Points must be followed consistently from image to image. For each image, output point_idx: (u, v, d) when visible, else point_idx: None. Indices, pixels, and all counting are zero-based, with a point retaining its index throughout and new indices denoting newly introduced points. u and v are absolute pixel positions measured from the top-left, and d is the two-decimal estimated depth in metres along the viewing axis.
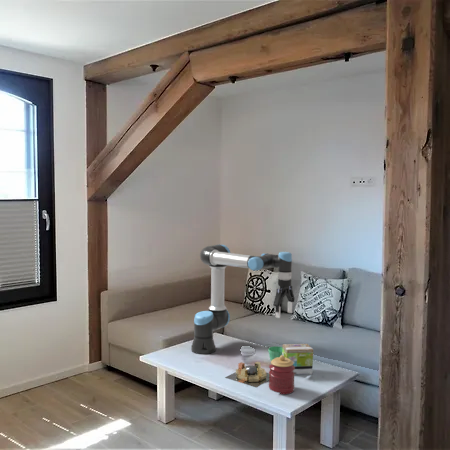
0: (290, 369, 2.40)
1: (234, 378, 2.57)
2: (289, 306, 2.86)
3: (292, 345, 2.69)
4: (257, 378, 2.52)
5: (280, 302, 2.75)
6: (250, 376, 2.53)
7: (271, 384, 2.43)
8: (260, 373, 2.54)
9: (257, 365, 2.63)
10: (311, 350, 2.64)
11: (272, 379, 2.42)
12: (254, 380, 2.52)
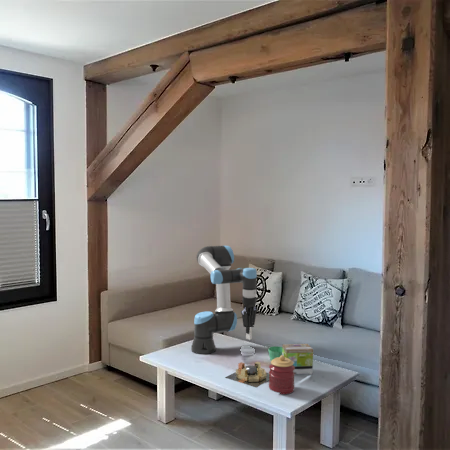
0: (290, 369, 2.40)
1: (234, 378, 2.57)
2: None
3: (292, 345, 2.69)
4: (257, 378, 2.52)
5: (249, 322, 2.65)
6: (250, 376, 2.53)
7: (271, 384, 2.43)
8: (260, 373, 2.54)
9: (257, 365, 2.63)
10: (311, 350, 2.64)
11: (272, 379, 2.42)
12: (254, 380, 2.52)
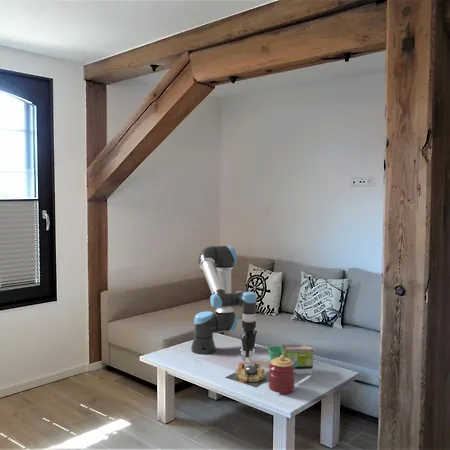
0: (290, 369, 2.40)
1: (234, 378, 2.57)
2: None
3: (292, 345, 2.69)
4: (257, 378, 2.52)
5: (249, 346, 2.66)
6: (250, 376, 2.53)
7: (271, 384, 2.43)
8: (260, 373, 2.54)
9: (257, 365, 2.63)
10: (311, 350, 2.64)
11: (272, 379, 2.42)
12: (254, 380, 2.52)
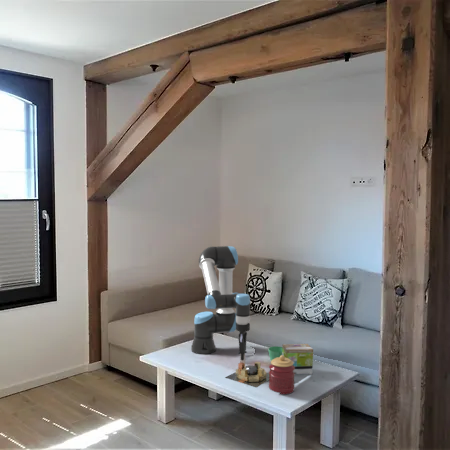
0: (290, 369, 2.40)
1: (234, 378, 2.57)
2: None
3: (292, 345, 2.69)
4: (257, 378, 2.52)
5: (244, 349, 2.62)
6: (250, 376, 2.53)
7: (271, 384, 2.43)
8: (260, 373, 2.54)
9: (257, 365, 2.63)
10: (311, 350, 2.64)
11: (272, 379, 2.42)
12: (254, 380, 2.52)
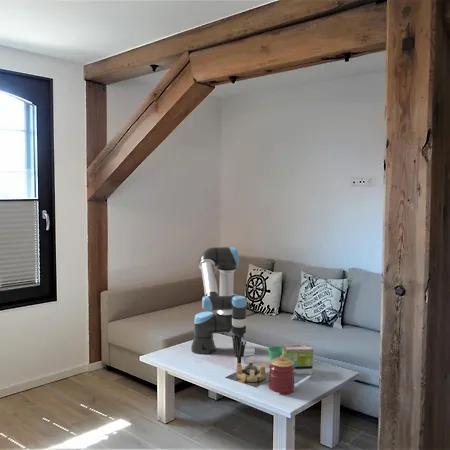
0: (290, 369, 2.40)
1: (234, 378, 2.57)
2: None
3: (292, 345, 2.69)
4: (264, 375, 2.55)
5: None
6: (258, 375, 2.54)
7: (271, 384, 2.43)
8: (263, 370, 2.58)
9: (251, 364, 2.64)
10: (311, 350, 2.64)
11: (272, 379, 2.42)
12: (262, 378, 2.54)
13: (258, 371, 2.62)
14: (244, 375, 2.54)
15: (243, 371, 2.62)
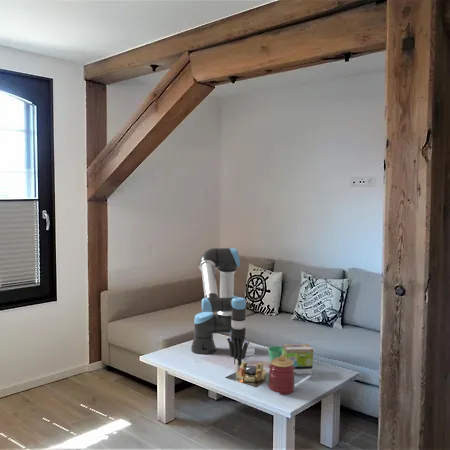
0: (290, 369, 2.40)
1: (234, 378, 2.57)
2: None
3: (292, 345, 2.69)
4: (265, 372, 2.60)
5: None
6: (263, 373, 2.57)
7: (271, 384, 2.43)
8: (262, 367, 2.62)
9: (246, 364, 2.64)
10: (311, 350, 2.64)
11: (272, 379, 2.42)
12: (265, 375, 2.59)
13: None
14: (251, 376, 2.53)
15: None
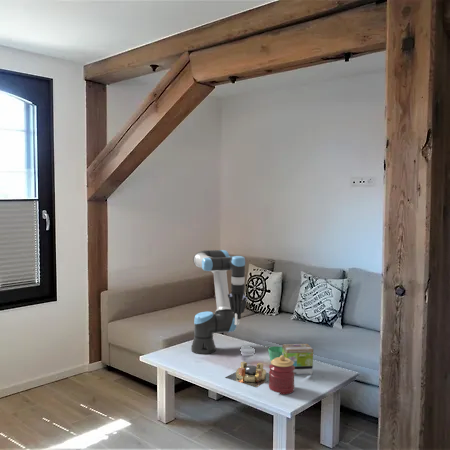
0: (290, 369, 2.40)
1: (234, 378, 2.57)
2: None
3: (292, 345, 2.69)
4: (265, 372, 2.60)
5: None
6: (263, 373, 2.57)
7: (271, 384, 2.43)
8: (262, 367, 2.62)
9: (246, 364, 2.64)
10: (311, 350, 2.64)
11: (272, 379, 2.42)
12: (265, 375, 2.59)
13: None
14: (251, 376, 2.53)
15: None
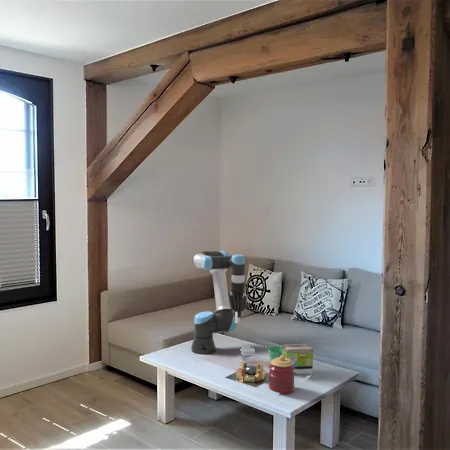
0: (290, 369, 2.40)
1: (234, 378, 2.57)
2: None
3: (292, 345, 2.69)
4: (265, 372, 2.60)
5: None
6: (263, 373, 2.57)
7: (271, 384, 2.43)
8: (262, 367, 2.62)
9: (246, 364, 2.64)
10: (311, 350, 2.64)
11: (272, 379, 2.42)
12: (265, 375, 2.59)
13: None
14: (251, 376, 2.53)
15: None
